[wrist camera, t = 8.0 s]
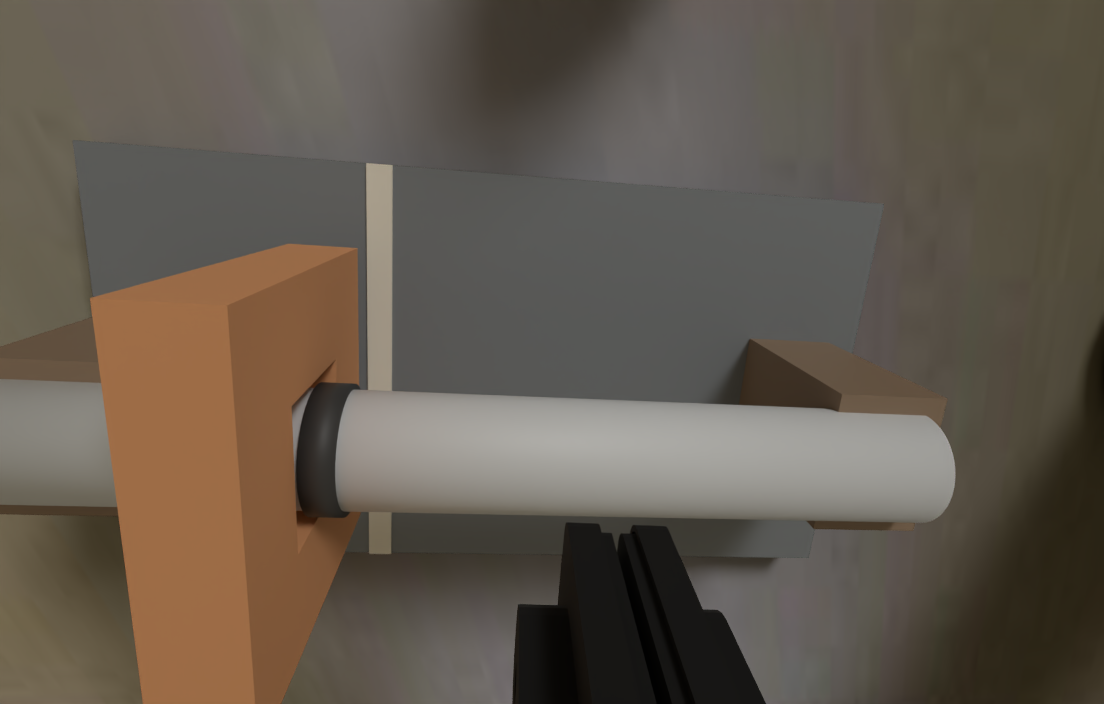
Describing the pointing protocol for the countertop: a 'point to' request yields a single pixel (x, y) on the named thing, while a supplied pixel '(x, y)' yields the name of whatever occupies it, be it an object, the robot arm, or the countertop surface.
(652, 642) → the robot arm
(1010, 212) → the countertop surface
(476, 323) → the pipe stand
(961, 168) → the countertop surface
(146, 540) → the orange square ring
